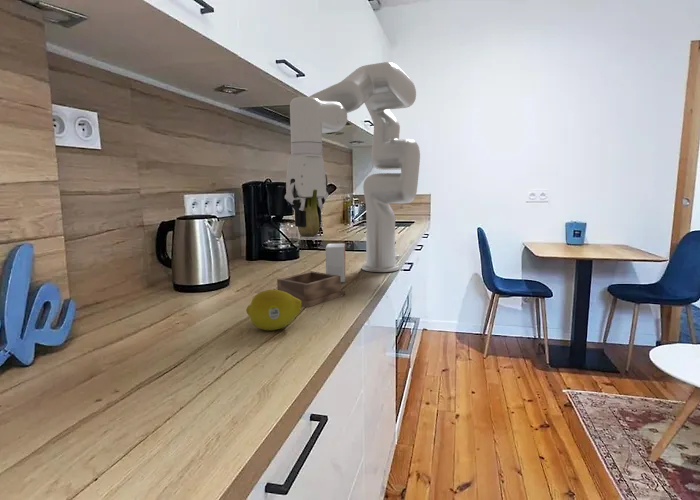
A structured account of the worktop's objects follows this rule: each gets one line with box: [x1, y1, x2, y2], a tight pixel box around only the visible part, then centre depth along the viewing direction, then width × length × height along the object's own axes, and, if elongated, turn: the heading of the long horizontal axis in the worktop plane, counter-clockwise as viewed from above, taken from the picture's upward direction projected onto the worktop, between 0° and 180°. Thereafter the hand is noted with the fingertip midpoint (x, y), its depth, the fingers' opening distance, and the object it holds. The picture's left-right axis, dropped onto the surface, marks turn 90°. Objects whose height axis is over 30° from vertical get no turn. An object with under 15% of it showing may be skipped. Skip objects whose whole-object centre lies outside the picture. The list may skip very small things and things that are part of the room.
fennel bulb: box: [297, 190, 320, 238], centre depth 106 cm, size 6×5×12 cm
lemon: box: [246, 289, 302, 331], centre depth 85 cm, size 11×8×8 cm
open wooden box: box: [276, 270, 346, 308], centre depth 109 cm, size 14×12×5 cm
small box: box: [325, 243, 346, 283], centre depth 128 cm, size 8×6×10 cm
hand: (308, 225), depth 106 cm, fingers closed on fennel bulb, 4 cm apart
